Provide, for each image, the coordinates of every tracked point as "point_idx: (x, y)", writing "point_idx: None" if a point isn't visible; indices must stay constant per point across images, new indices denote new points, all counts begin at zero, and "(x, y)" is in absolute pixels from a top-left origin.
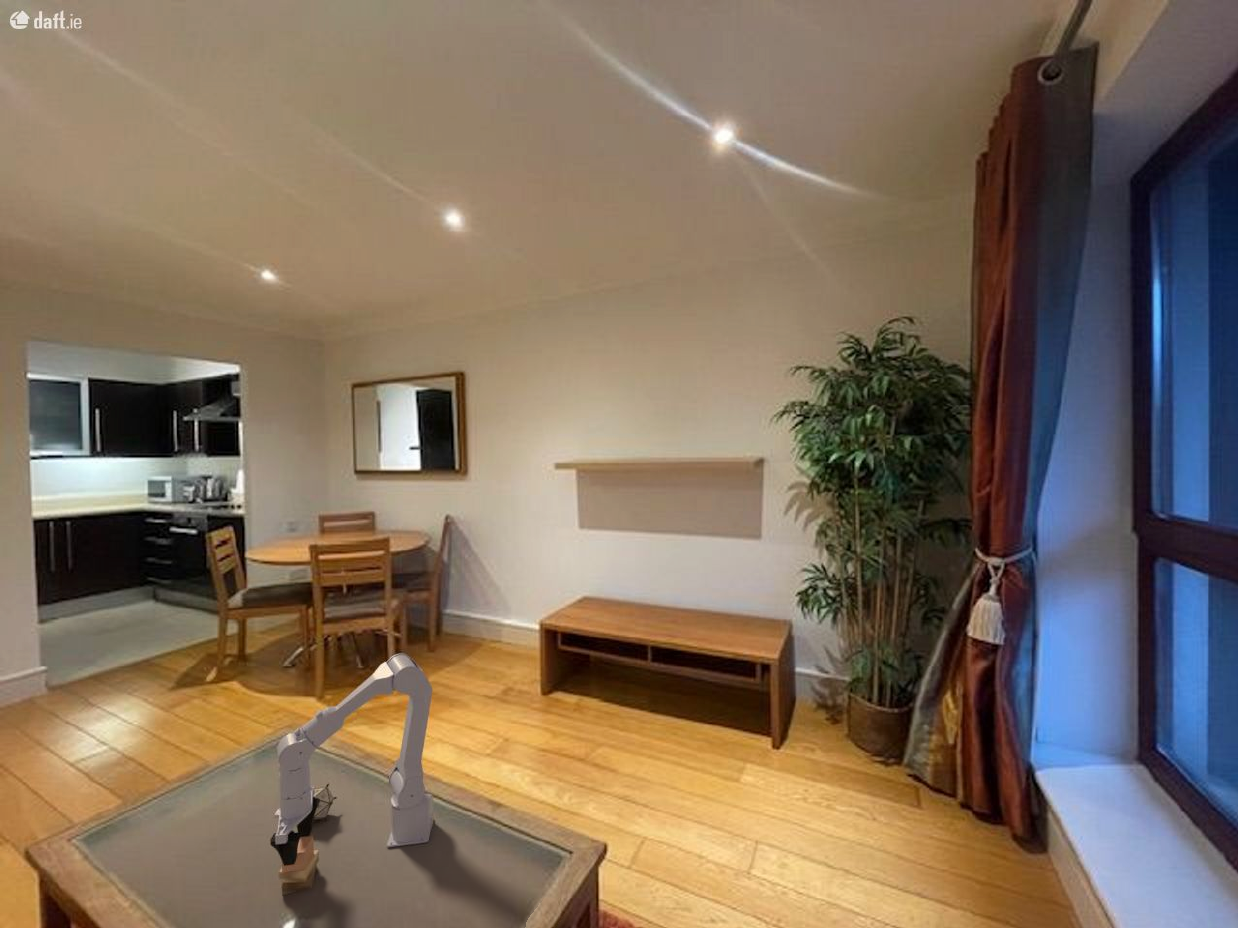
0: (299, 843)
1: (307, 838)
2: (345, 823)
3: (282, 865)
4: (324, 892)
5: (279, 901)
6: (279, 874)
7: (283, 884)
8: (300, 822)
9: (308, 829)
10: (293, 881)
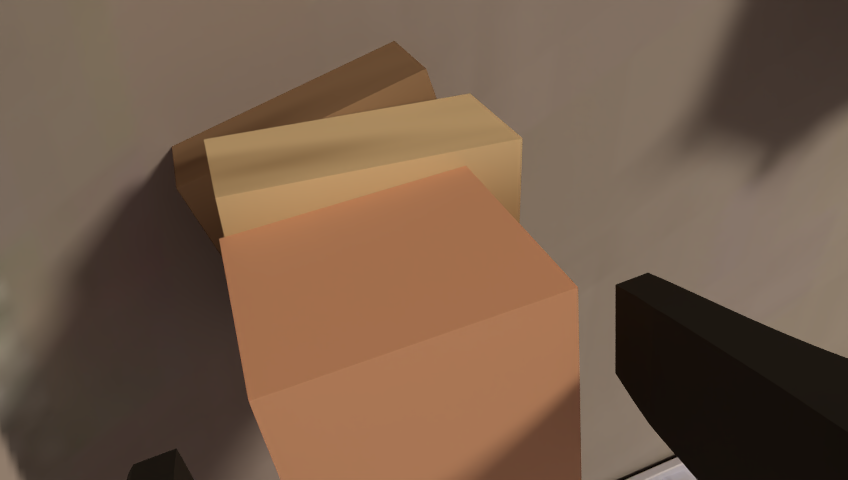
0: (469, 452)
1: (546, 468)
2: (832, 150)
3: (229, 293)
4: (248, 423)
5: (100, 175)
6: (213, 187)
7: (194, 192)
8: (781, 444)
9: (675, 429)
10: None
